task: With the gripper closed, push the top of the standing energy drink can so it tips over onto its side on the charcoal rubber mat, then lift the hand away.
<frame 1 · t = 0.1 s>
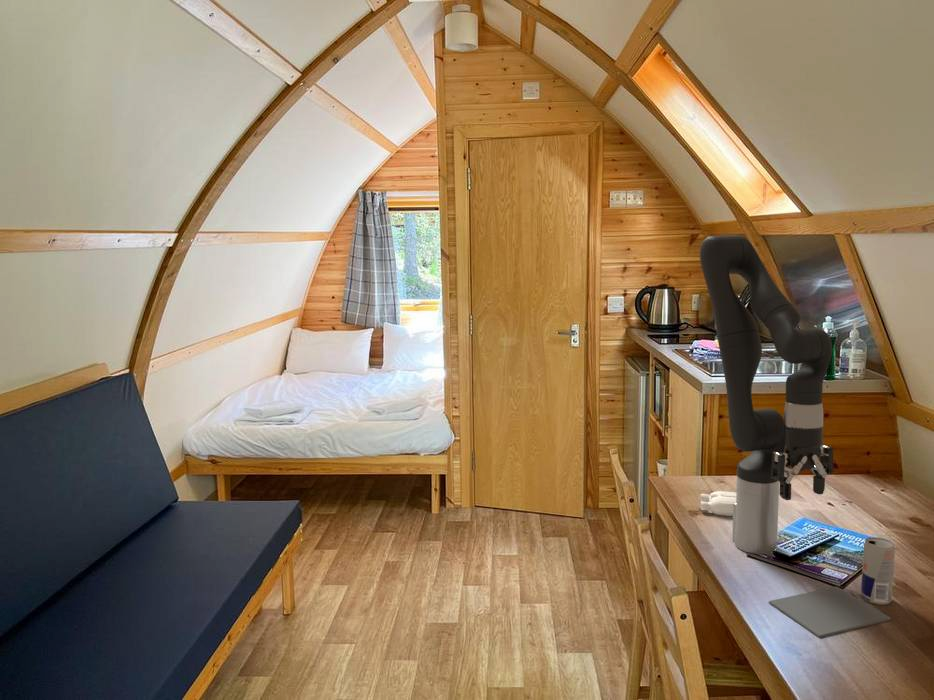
hand: (802, 496, 148), 17 cm above the table, tool pointing down, fingers open, 8 cm apart
energy drink: (875, 599, 139), on the table
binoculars: (732, 512, 185), on the table
rubber mat: (828, 611, 135), on the table
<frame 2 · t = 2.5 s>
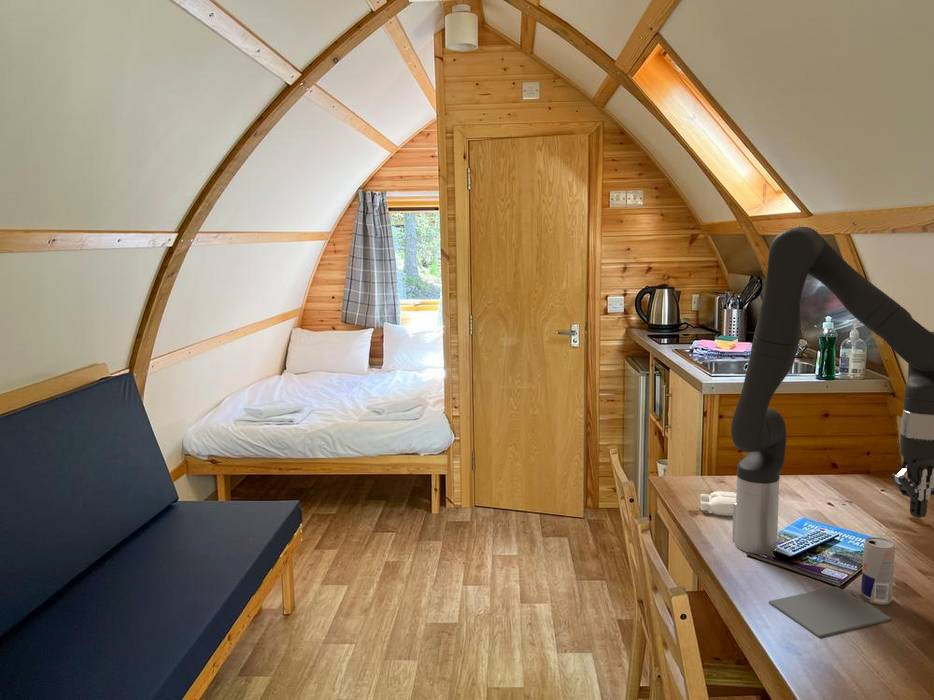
hand: (917, 516, 139), 16 cm above the table, tool pointing down, fingers closed
nothing on the table moved.
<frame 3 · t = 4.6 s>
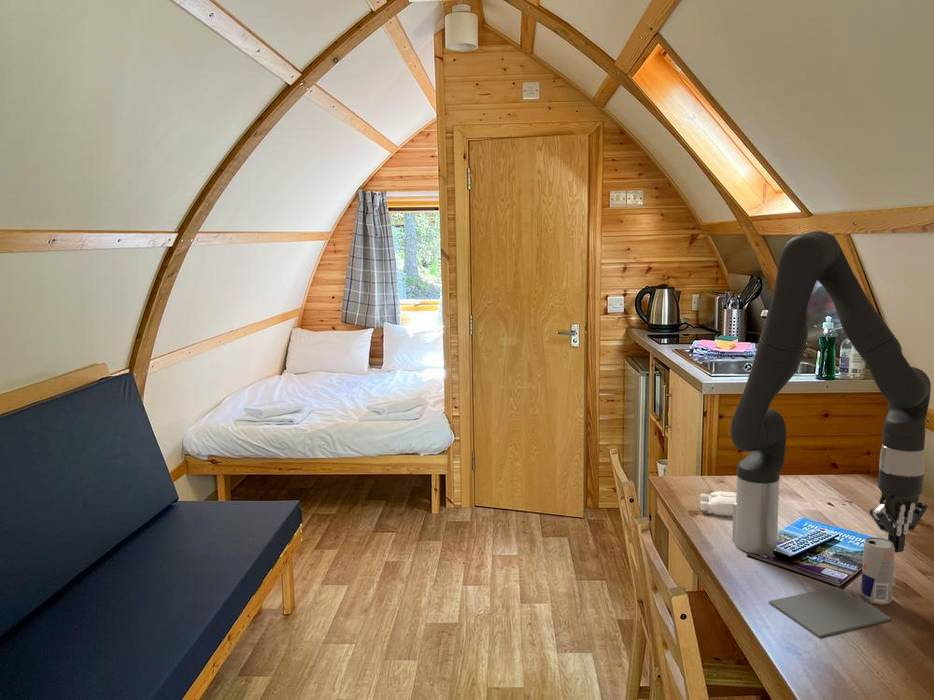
hand: (895, 550, 139), 9 cm above the table, tool pointing down, fingers closed
energy drink: (875, 599, 139), on the table, touching gripper
everything else where it was.
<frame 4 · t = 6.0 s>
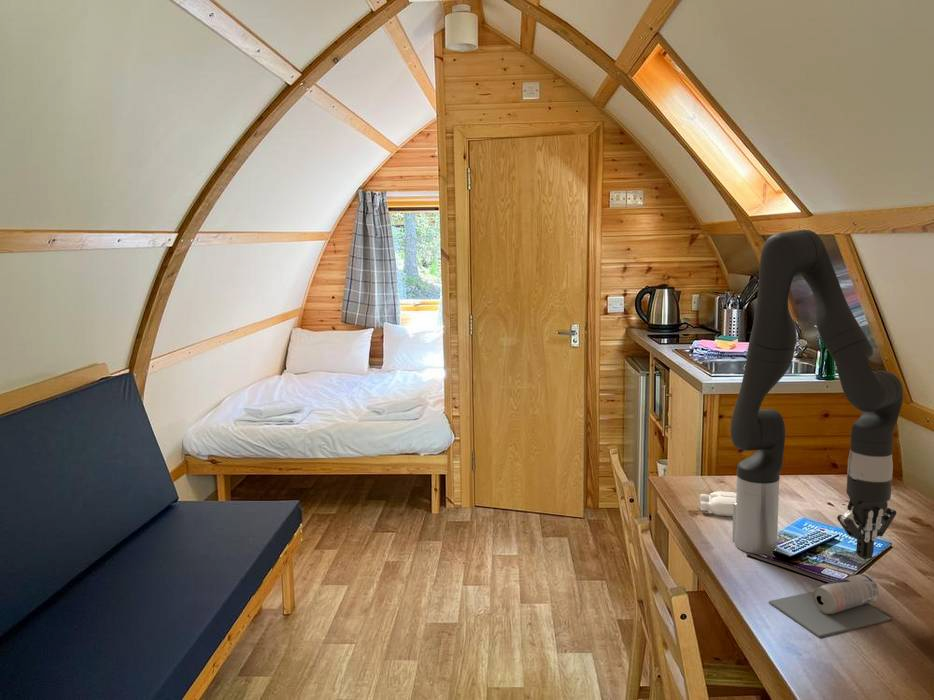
hand: (864, 557, 136), 9 cm above the table, tool pointing down, fingers closed
energy drink: (868, 587, 137), point 3 cm above the table, touching rubber mat
everything else where it was.
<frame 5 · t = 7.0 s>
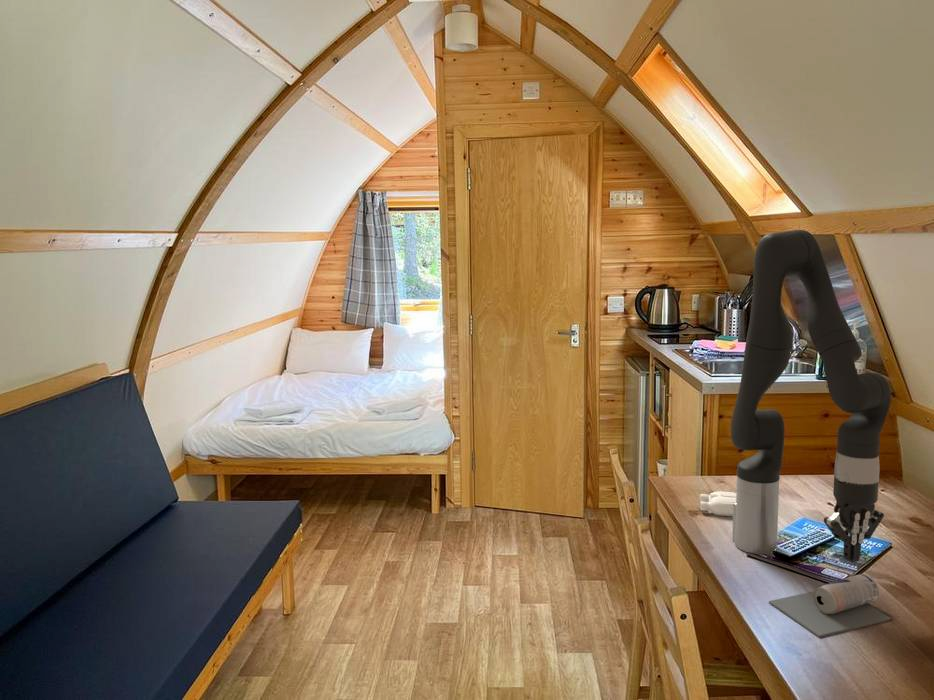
hand: (851, 559, 135), 10 cm above the table, tool pointing down, fingers closed
nothing on the table moved.
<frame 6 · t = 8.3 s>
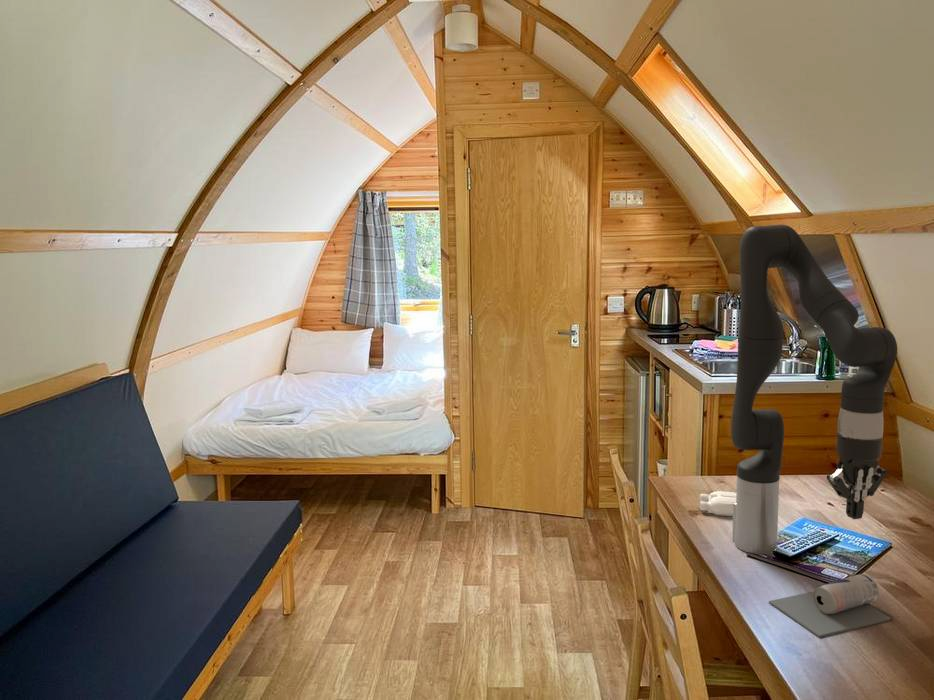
hand: (854, 517, 134), 18 cm above the table, tool pointing down, fingers closed
nothing on the table moved.
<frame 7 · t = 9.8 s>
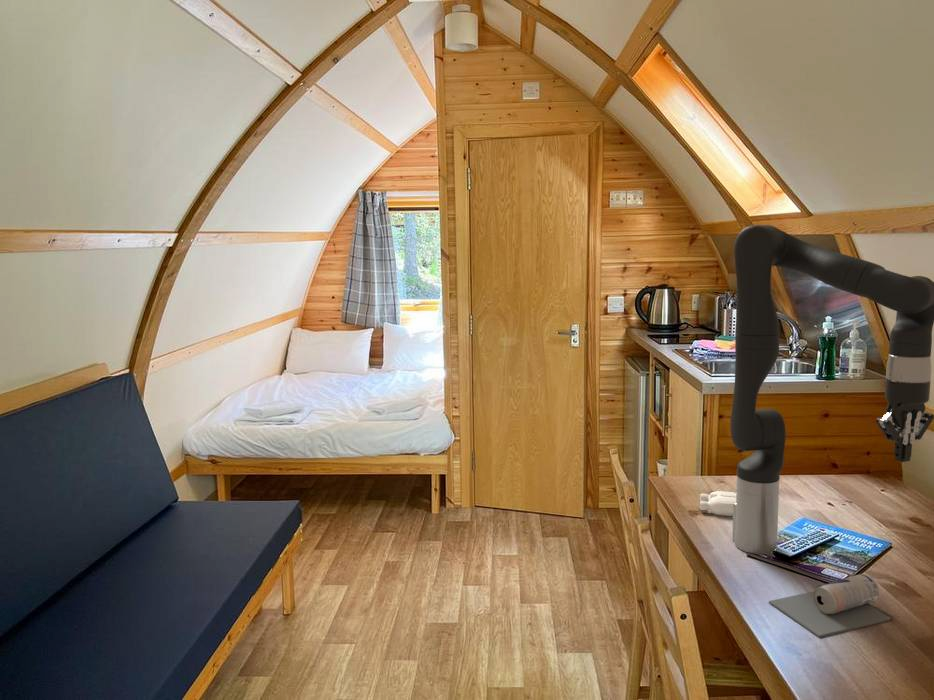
hand: (902, 460, 140), 27 cm above the table, tool pointing down, fingers closed
nothing on the table moved.
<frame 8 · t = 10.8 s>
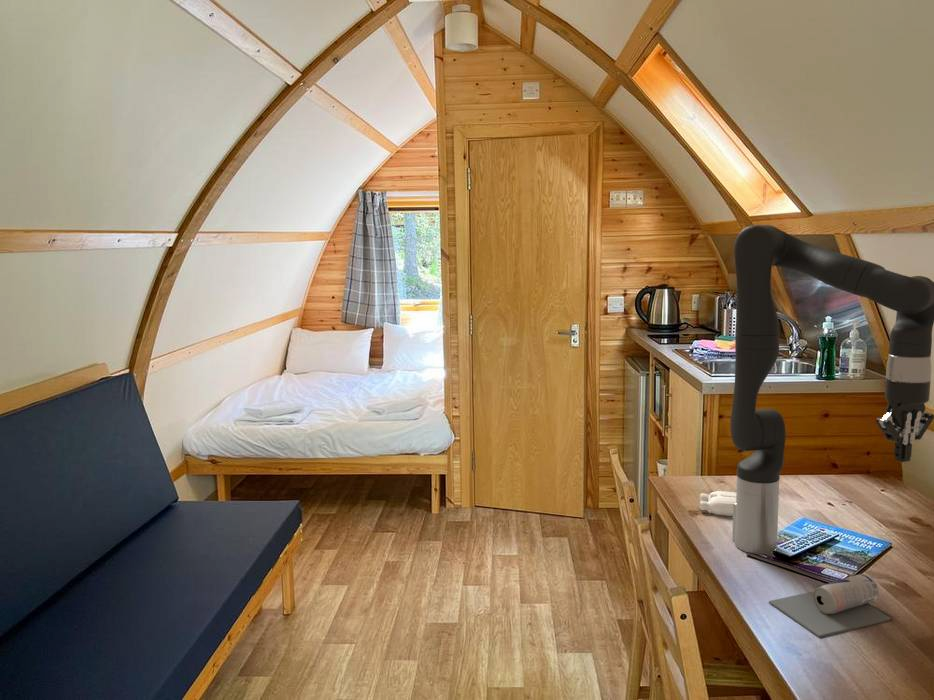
hand: (902, 460, 140), 27 cm above the table, tool pointing down, fingers closed
nothing on the table moved.
at the end: energy drink tilted 90°; energy drink touching rubber mat; energy drink inside the target area (7.1 cm from its centre), point 3.1 cm above the table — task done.
